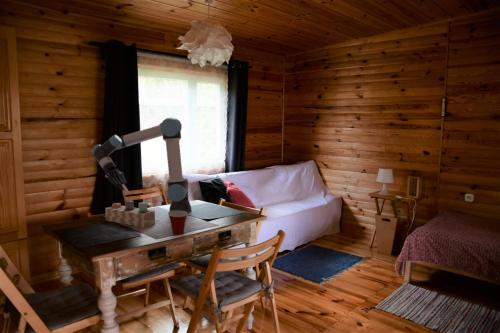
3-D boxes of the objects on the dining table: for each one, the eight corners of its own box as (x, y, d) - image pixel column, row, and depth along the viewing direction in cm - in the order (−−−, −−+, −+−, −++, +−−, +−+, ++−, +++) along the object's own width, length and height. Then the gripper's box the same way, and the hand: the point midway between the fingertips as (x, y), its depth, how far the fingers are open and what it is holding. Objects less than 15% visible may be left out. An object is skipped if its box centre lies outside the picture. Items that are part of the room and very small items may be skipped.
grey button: (123, 209, 230) (123, 201, 230) (129, 207, 235) (129, 200, 234) (129, 210, 228) (128, 202, 227) (135, 208, 232) (135, 200, 232)
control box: (106, 220, 236) (105, 208, 235) (118, 217, 245) (118, 205, 244) (143, 227, 220) (142, 214, 219) (155, 223, 228) (154, 210, 227)
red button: (110, 212, 237) (110, 204, 236) (117, 210, 241) (116, 202, 241) (116, 212, 234) (115, 205, 234) (122, 211, 239) (122, 203, 238)
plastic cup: (177, 237, 199) (177, 215, 198) (164, 234, 206) (163, 213, 204) (192, 232, 208) (191, 211, 206) (179, 229, 214) (178, 209, 213)
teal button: (137, 211, 224) (136, 203, 224) (143, 210, 229) (143, 202, 228) (143, 212, 222) (142, 204, 221) (149, 210, 226) (149, 202, 226)
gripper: (114, 168, 243) (133, 195, 236) (96, 170, 232) (116, 199, 225) (119, 160, 239) (138, 188, 232) (101, 162, 228) (121, 191, 221)
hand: (127, 193), depth 229 cm, fingers closed
